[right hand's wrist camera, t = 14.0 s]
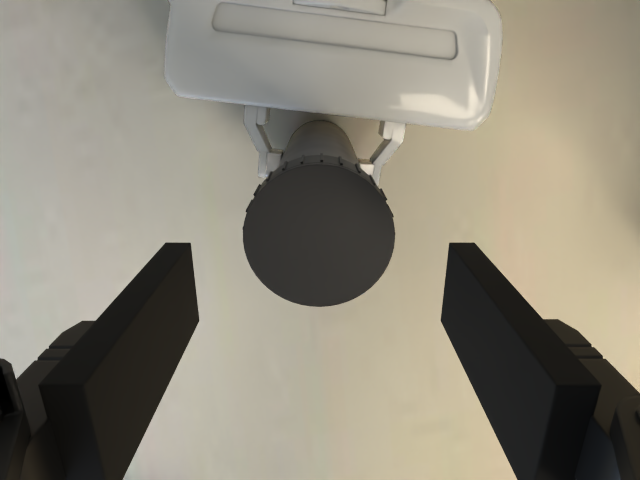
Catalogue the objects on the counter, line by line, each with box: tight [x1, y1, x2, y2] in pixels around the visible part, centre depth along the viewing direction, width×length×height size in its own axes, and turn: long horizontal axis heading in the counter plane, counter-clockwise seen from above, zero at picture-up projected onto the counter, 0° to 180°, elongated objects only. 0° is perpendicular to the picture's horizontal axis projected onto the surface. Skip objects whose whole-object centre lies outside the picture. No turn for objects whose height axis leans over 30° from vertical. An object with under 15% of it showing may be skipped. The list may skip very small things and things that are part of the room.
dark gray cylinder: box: [278, 121, 361, 168], centre depth 27 cm, size 5×5×19 cm
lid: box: [243, 153, 395, 307], centre depth 19 cm, size 6×6×2 cm
